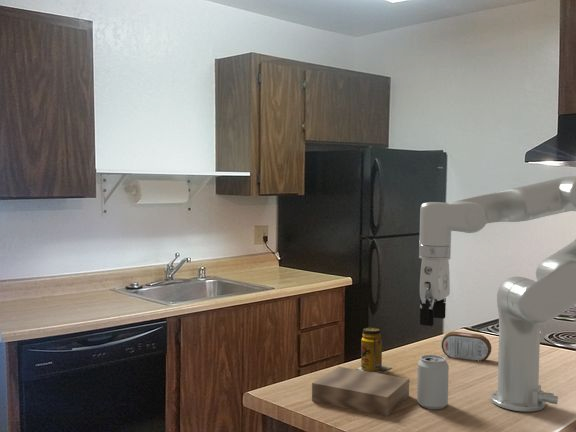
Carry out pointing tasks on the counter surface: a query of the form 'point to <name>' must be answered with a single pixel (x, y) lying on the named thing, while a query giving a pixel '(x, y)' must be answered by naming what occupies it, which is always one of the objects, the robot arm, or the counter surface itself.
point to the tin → (466, 346)
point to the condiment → (371, 351)
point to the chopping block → (361, 390)
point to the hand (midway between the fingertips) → (432, 321)
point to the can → (432, 382)
